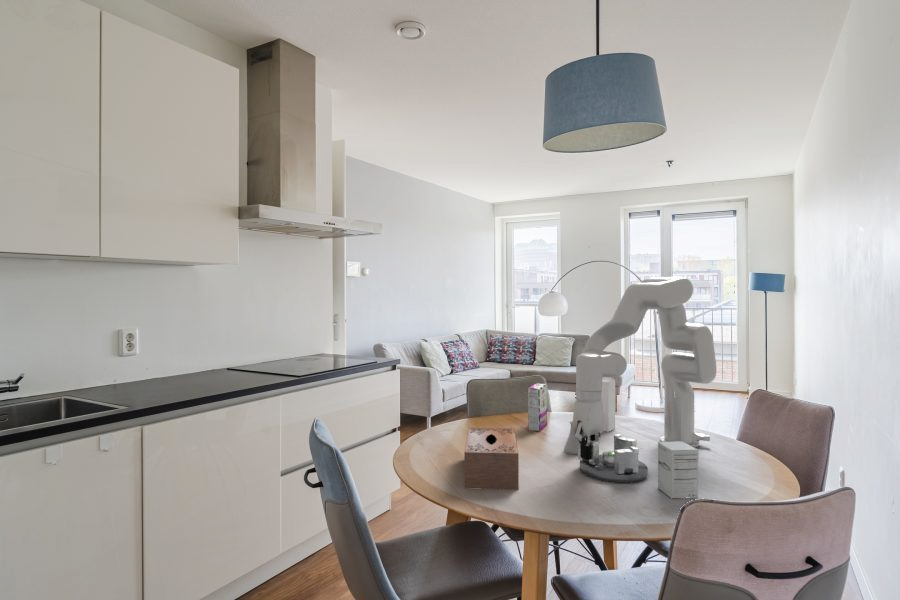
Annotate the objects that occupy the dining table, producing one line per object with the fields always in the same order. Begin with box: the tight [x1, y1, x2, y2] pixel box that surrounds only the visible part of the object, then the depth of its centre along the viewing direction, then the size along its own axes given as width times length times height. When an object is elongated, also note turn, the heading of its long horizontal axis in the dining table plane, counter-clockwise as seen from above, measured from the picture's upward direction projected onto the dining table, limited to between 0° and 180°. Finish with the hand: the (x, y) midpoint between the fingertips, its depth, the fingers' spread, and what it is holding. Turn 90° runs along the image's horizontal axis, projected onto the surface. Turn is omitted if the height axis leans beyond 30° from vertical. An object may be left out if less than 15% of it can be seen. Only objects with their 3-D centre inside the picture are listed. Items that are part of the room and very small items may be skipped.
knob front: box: [577, 439, 600, 465], centre depth 151 cm, size 4×6×7 cm, turn 32°
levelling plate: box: [579, 450, 649, 485], centre depth 149 cm, size 19×19×6 cm
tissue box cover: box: [463, 426, 520, 491], centre depth 149 cm, size 26×14×10 cm, turn 175°
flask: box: [563, 420, 578, 455], centre depth 168 cm, size 7×7×10 cm
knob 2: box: [613, 446, 640, 474], centre depth 142 cm, size 4×6×7 cm, turn 102°
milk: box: [602, 377, 616, 433], centre depth 195 cm, size 6×6×22 cm
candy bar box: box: [527, 383, 548, 432], centre depth 198 cm, size 11×5×16 cm, turn 155°
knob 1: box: [613, 433, 637, 451], centre depth 154 cm, size 4×6×7 cm, turn 42°
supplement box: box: [657, 441, 699, 499], centre depth 132 cm, size 7×7×13 cm
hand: (589, 456), depth 151 cm, fingers closed on knob front, 3 cm apart
